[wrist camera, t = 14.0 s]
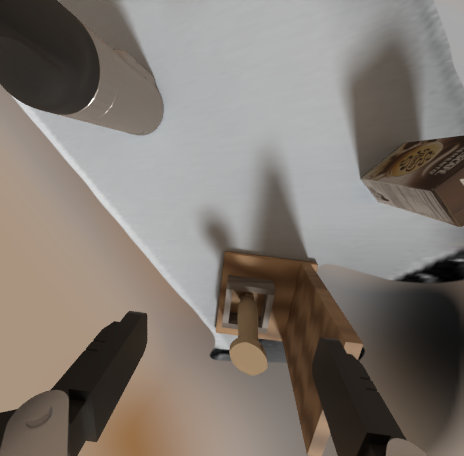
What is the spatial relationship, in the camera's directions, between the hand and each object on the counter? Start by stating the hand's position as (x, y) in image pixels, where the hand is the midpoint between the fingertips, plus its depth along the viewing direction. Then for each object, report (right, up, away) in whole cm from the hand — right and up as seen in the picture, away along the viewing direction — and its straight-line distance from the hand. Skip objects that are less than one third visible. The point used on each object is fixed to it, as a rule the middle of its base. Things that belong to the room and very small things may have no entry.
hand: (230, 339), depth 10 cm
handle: (+3, -10, +37) cm, 38 cm away
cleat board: (+7, -10, +37) cm, 39 cm away
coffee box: (+29, +15, +29) cm, 43 cm away
